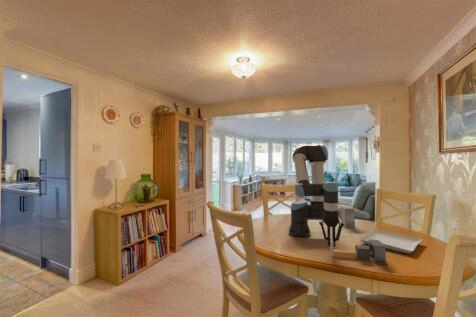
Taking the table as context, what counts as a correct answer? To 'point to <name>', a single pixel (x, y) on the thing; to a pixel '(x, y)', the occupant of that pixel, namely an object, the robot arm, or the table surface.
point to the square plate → (393, 241)
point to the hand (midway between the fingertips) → (331, 252)
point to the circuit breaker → (347, 216)
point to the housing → (378, 252)
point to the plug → (354, 253)
